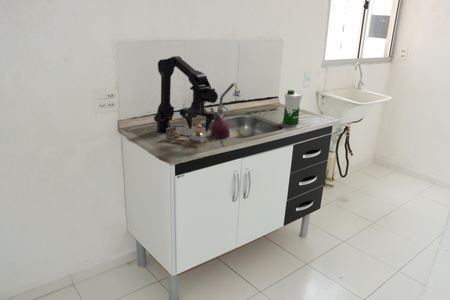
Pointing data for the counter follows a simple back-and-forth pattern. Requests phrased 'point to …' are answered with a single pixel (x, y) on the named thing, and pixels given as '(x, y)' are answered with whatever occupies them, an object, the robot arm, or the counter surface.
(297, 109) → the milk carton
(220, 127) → the vegetable
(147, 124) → the counter surface
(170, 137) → the press bench
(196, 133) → the ram
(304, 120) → the counter surface
